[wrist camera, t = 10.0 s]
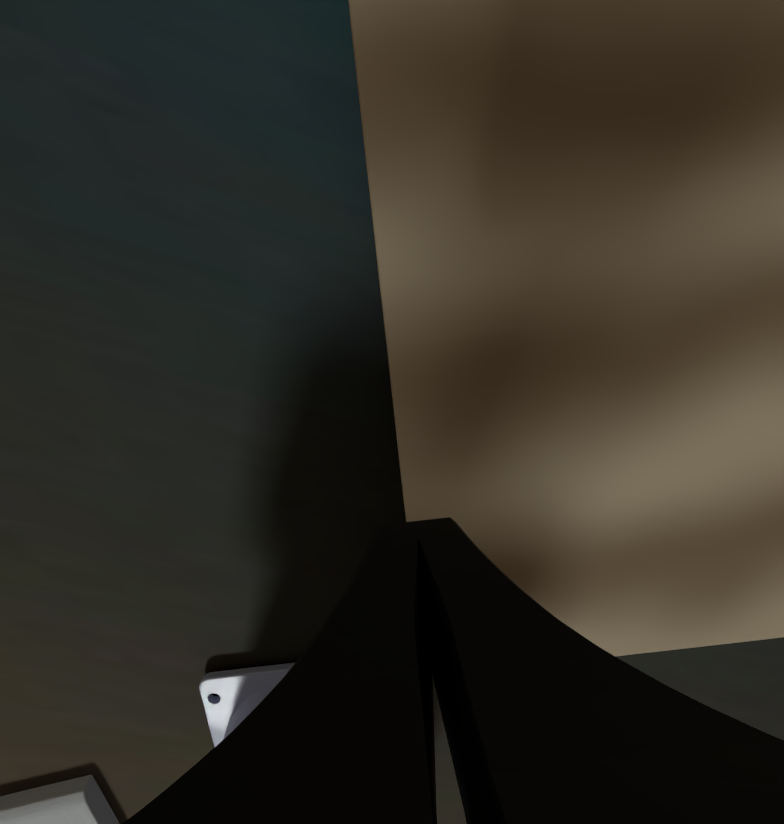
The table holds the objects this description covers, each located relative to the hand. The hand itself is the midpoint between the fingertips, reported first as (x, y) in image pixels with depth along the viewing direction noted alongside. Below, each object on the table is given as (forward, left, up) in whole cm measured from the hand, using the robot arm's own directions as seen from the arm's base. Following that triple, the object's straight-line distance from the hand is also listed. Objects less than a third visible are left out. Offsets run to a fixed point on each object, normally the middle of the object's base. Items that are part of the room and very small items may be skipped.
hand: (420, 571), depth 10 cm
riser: (+2, -6, -10) cm, 12 cm away
